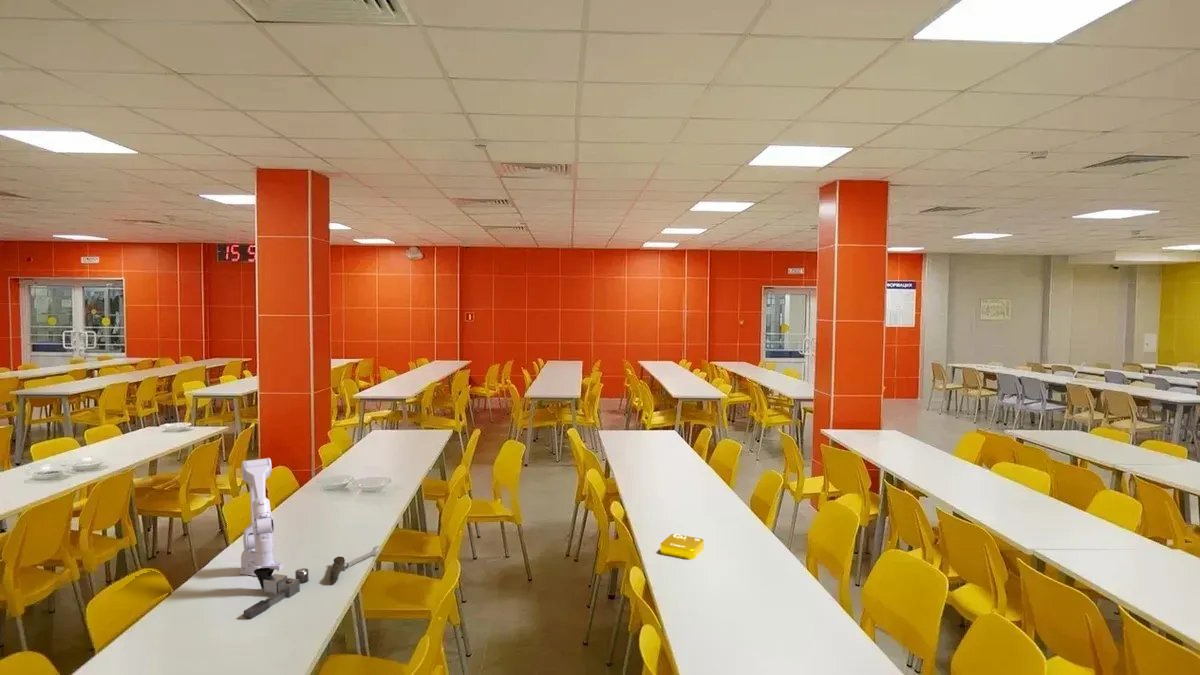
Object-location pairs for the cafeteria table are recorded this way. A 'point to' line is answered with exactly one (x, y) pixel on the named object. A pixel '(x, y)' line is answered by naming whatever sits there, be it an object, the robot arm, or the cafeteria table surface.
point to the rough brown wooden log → (336, 569)
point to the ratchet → (274, 597)
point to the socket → (302, 575)
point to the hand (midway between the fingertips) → (265, 587)
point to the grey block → (273, 583)
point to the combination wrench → (361, 558)
